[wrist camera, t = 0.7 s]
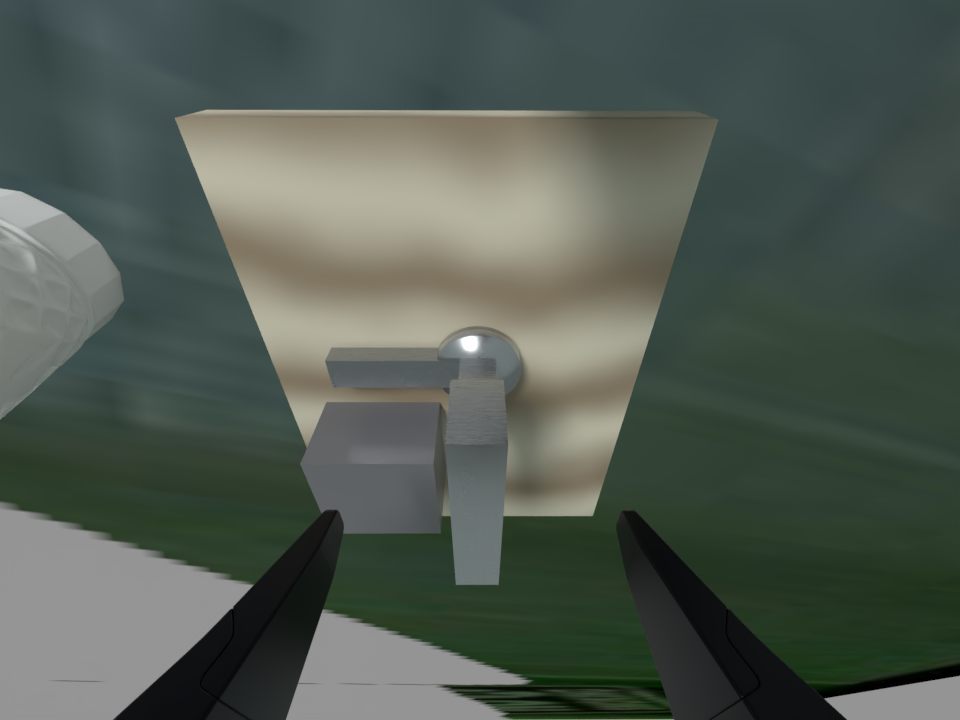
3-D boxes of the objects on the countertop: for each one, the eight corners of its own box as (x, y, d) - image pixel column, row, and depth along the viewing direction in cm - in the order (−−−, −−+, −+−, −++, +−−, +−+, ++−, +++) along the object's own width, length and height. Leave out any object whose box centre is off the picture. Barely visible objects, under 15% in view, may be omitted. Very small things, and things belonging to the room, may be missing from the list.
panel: (206, 109, 15) (174, 118, 13) (693, 110, 15) (718, 118, 13) (341, 491, 30) (334, 516, 28) (586, 491, 30) (592, 516, 28)
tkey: (314, 285, 17) (207, 444, 10) (525, 286, 17) (555, 444, 10) (351, 419, 22) (295, 584, 15) (515, 419, 22) (530, 584, 15)
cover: (326, 401, 21) (300, 464, 18) (440, 402, 21) (433, 464, 18) (348, 471, 25) (330, 533, 22) (445, 471, 25) (440, 533, 22)
